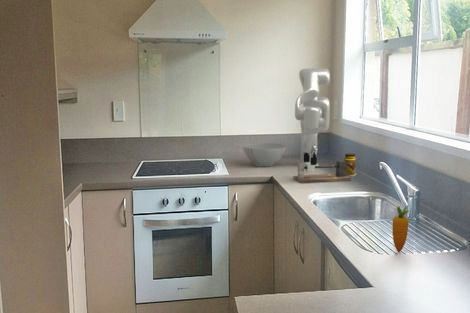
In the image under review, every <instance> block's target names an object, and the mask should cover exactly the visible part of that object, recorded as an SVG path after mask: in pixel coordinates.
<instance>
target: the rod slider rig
mask: <svg viewBox="0 0 470 313" xmlns="http://www.w3.org/2000/svg"><path fill="white" fill-rule="evenodd" d="M346 163H347V162H345V161H344V160H336V162H335V164H336V165H335V164H331V165H319V166H315V169H331V168H332V169H334V168H335V173H326V174H325V173H323V174H309V175H307V174H306V175H305V169H307V166H305V167H304V163H301V162H297V175H293V176H292V178H293V180H295V181H297V182H298V183H300V184H310V183H311V184H315V183H317V184H318V183H331V182H332V183H336V182H352V178H351V176H346Z"/></svg>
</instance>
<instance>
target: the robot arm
mask: <svg viewBox="0 0 470 313" xmlns="http://www.w3.org/2000/svg"><path fill="white" fill-rule="evenodd" d="M298 76H299V77H298V78H299V80H300V83H301V86H302V89H303V90H302V91H303V92H302V93H300V94H299V95H298V97H297V98H296V100H295V104H294V117H295V119H296V120H297V121H299V122H300V129H301V130H300V131H301V132H300V133H301V140H300V141H301V143H300V144H301V146H300V163H304V167H305V163H310V165H315V166H320V165H319V163H318V162H317V160H318V159H317V158H318V135H319V132H321V131H324V132H326V131H328V130H329V127H330V119H331V118H330V117H331V116H330V115H331V114H330V110H331V105H330V104H331V103H330V99H329V98H328V97H325V96H319V94H320V86H321V85H322V86H328V85H329V84H330V81H331V73H330V70H329V69H328V68H302V69H300V70H299V73H298Z"/></svg>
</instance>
